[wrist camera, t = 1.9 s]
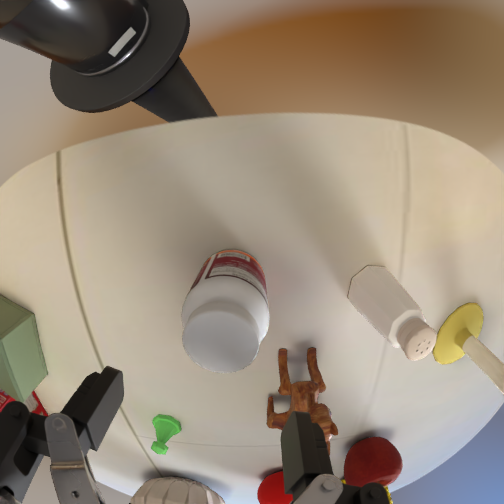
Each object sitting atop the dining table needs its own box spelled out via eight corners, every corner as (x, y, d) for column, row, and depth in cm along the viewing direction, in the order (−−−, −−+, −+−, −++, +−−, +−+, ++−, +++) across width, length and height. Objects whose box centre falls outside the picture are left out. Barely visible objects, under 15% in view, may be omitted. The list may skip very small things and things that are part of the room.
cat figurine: (310, 430, 32) (323, 508, 19) (264, 432, 32) (266, 513, 19) (329, 329, 27) (370, 427, 14) (267, 332, 28) (274, 438, 14)
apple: (337, 462, 35) (347, 505, 26) (337, 437, 33) (350, 487, 23) (386, 447, 35) (402, 486, 25) (393, 419, 32) (414, 464, 23)
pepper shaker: (401, 277, 26) (461, 326, 15) (374, 318, 27) (420, 381, 16) (365, 254, 25) (423, 301, 15) (336, 300, 26) (376, 366, 16)
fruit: (266, 463, 35) (267, 510, 25) (314, 466, 36) (322, 510, 26) (250, 482, 37) (249, 523, 28) (294, 485, 38) (298, 524, 28)
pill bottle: (225, 318, 27) (209, 394, 17) (188, 269, 26) (148, 328, 15) (277, 287, 26) (290, 357, 16) (242, 234, 25) (232, 278, 14)
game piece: (184, 421, 32) (176, 453, 26) (178, 434, 33) (170, 464, 27) (155, 410, 32) (144, 441, 26) (151, 424, 33) (141, 453, 27)
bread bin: (-5, 291, 28) (-35, 310, 20) (34, 313, 28) (1, 339, 21) (9, 349, 31) (-15, 371, 23) (48, 373, 31) (24, 401, 24)
